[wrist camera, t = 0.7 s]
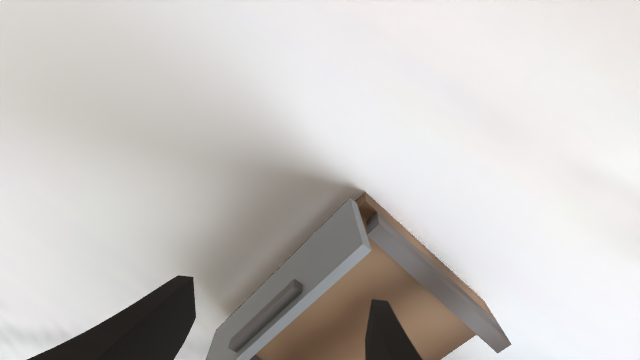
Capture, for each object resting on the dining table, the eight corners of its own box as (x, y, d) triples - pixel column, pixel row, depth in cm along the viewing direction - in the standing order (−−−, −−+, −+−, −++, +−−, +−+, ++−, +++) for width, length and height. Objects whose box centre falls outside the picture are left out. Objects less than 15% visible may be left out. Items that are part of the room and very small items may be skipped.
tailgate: (356, 203, 19) (371, 250, 14) (222, 333, 23) (200, 403, 18) (343, 192, 18) (353, 237, 14) (209, 326, 23) (183, 395, 18)
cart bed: (484, 301, 22) (511, 344, 18) (336, 407, 26) (332, 461, 22) (365, 191, 21) (366, 212, 17) (232, 321, 25) (209, 361, 21)
